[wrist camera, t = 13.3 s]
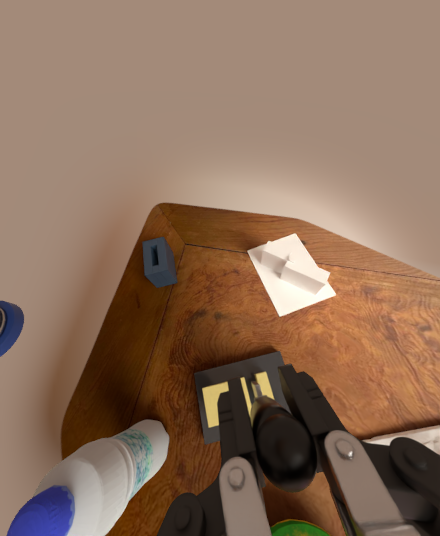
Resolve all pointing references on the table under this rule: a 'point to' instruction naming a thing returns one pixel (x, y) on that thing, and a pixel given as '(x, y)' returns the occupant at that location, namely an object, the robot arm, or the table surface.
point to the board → (246, 370)
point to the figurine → (297, 529)
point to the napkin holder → (290, 274)
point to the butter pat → (264, 384)
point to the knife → (282, 444)
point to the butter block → (212, 397)
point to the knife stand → (159, 262)
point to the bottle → (94, 484)
